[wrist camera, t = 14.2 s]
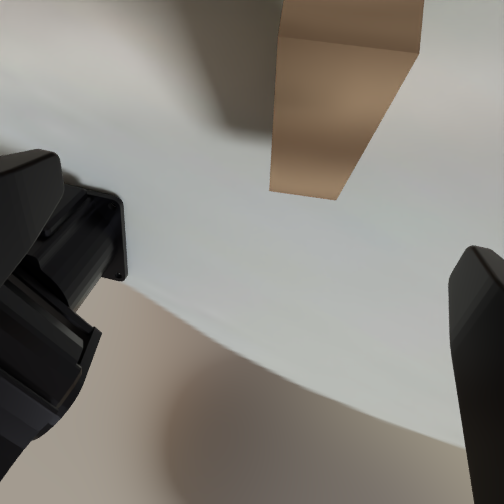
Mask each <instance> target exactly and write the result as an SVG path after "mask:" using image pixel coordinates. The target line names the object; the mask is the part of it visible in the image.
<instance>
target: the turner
mask: <svg viewBox="0 0 504 504" xmlns="http://www.w3.org/2000/svg"><path fill="white" fill-rule="evenodd" d="M423 7H424V0H284V1H283V8H282V14H281V20H280V26H279V32H278V42H277V60H276V78H275V97H274V115H273V133H272V151H271V169H270V188H269V191H273V192H280V193H287V194H294V195H302V196H309V197H316V198H323V199H330V200H337V198H338V196H339V194H340V193H341V191H342V189H343V187H344V185H345V184H346V182H347V180H348V178H349V177H350V175H351V173H352V171H353V170H354V168H355V166H356V164H357V163H358V161H359V159H360V157H361V156H362V154H363V152H364V150H365V148H366V147H367V145H368V143H369V141H370V140H371V138H372V136H373V134H374V133H375V131H376V129H377V127H378V126H379V124H380V122H381V120H382V118H383V117H384V115H385V113H386V111H387V110H388V108H389V106H390V104H391V103H392V101H393V99H394V97H395V96H396V94H397V92H398V90H399V88H400V87H401V85H402V83H403V81H404V80H405V78H406V76H407V74H408V73H409V71H410V69H411V67H412V66H413V64H414V62H415V60H416V58H417V57H418V55H419V51H420V40H421V29H422V18H423Z"/></svg>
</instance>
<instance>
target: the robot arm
mask: <svg viewBox="0 0 504 504" xmlns="http://www.w3.org/2000/svg"><path fill="white" fill-rule="evenodd" d="M112 203H113V204H115V205H116V207H115V206H113V205H112ZM119 273H120V274H119ZM127 276H128V267H127V252H126V236H125V221H124V206H123V202H122V200H121V199H120V198H118V197H116V196H113V195H109V194H104V193H100V192H96V191H91V190H87V189H83V188H81V187H76V186H72V185H67V184H64V181H63V175H62V169H61V163H60V158H59V156H58V155H57V154H56V153H54V152H51V151H46V150H42V149H34V150H29V151H24V152H19V153H14V154H9V155H4V156H0V481H1V480H2V479H3V477H4V476H5V474H6V473H7V472H8V470H9V468H10V467H11V466H12V465H13V463H14V462H15V461H16V459H17V458H18V457H19V455H20V454H21V453H22V451H23V450H24V449H25V448H26V447H27V445H28V444H29V443H30V442H31V441H32V440H35V439H37V438H39V437H41V436H42V435H43V434H45V433H46V432H47V431H48V430H50V429H51V428H52V427H53V426H54V425H55V424H56V423H57V422H58V421H59V420H60V419H61V418H62V417H63V415H64V414H65V413H66V412H67V411H68V409H69V408H70V407H71V405H72V404H73V402H74V401H75V399H76V397H77V396H78V394H79V392H80V390H81V388H82V386H83V384H84V381H85V378H86V375H87V372H88V370H89V367H90V365H91V362H92V359H93V356H94V354H95V351H96V348H97V346H98V343H99V340H100V337H101V335H102V332H100V331H99V330H98V329H97V328H96V327H92V326H91V325H89V324H88V323H87V322H86V321H85V320H84V319H82V318H81V317H80V316H79V315H78V314H76V311H77V310H78V308H79V307H80V306H81V304H82V303H83V301H84V300H85V299H86V297H87V296H88V294H89V293H90V292H91V290H92V289H93V287H94V286H95V285H96V283H97V282H98V280H99V279H100V278H101V277H104V278H108V279H112V280H116V281H124V280H125V279H126V277H127ZM448 292H449V335H450V348H451V356H452V363H453V369H454V376H455V382H456V389H457V395H458V402H459V408H460V414H461V421H462V427H463V434H464V440H465V447H466V453H467V460H468V466H469V472H470V479H471V486H472V492H473V498H474V504H504V259H503V258H501V257H500V256H499V255H498V254H496V253H495V252H494V251H493V250H491V249H488V248H484V247H479V246H474V245H472V246H469V247H468V248H467V249H466V250H465V251H464V253H463V255H462V256H461V258H460V260H459V261H458V263H457V265H456V266H455V268H454V270H453V271H452V273H451V275H450V278H449V283H448Z"/></svg>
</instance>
